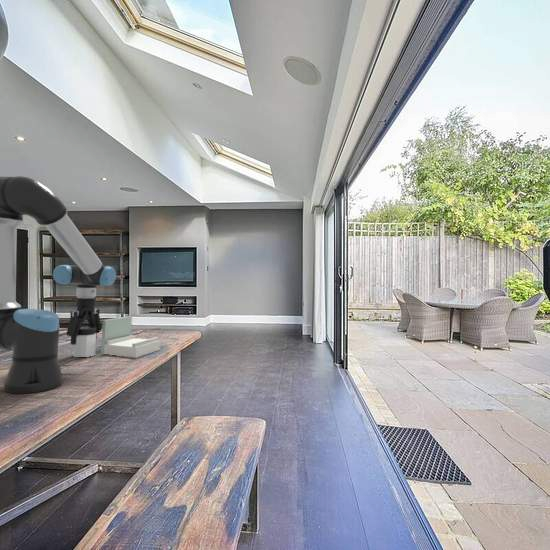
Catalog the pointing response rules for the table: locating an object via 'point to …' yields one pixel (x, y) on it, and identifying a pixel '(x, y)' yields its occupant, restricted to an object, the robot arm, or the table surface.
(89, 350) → the jar
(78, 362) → the table surface
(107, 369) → the table surface
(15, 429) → the table surface
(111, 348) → the display stand
